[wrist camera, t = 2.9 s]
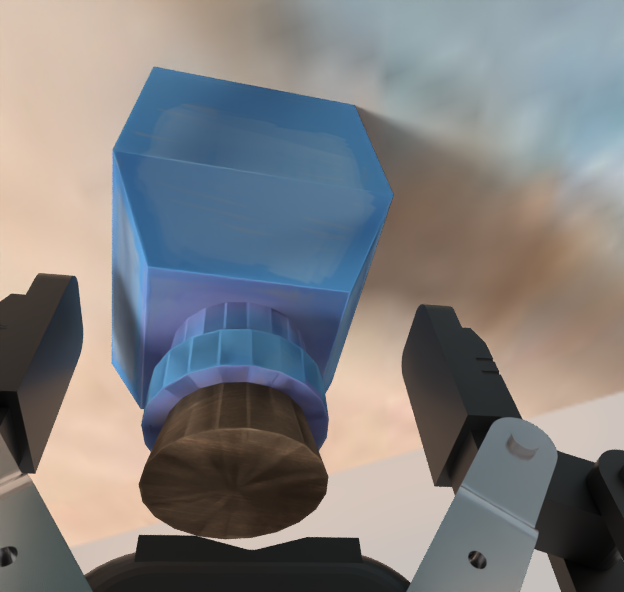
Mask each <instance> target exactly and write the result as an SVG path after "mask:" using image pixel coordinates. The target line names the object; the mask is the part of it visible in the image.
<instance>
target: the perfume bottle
mask: <svg viewBox="0 0 624 592" xmlns="http://www.w3.org/2000/svg"><path fill="white" fill-rule="evenodd" d="M392 198H393V193H392V190H391V188H390V186H389V183H388V181H387V179H386V176H385V174H384V172H383V170H382V167H381V165H380V163H379V160H378V158H377V156H376V154H375V151H374V149H373V147H372V144H371V142H370V140H369V137H368V135H367V133H366V131H365V128H364V126H363V124H362V121H361V119H360V117H359V114H358V112H357V110H356V108H355V105H351V104H346V103H340V102H335V101H330V100H325V99H320V98H314V97H309V96H304V95H299V94H293V93H288V92H283V91H278V90H273V89H267V88H262V87H257V86H252V85H247V84H241V83H236V82H231V81H226V80H220V79H215V78H210V77H205V76H200V75H194V74H189V73H184V72H179V71H174V70H168V69H163V68H158V67H153V69H152V71H151V73H150V75H149V77H148V79H147V81H146V83H145V85H144V87H143V89H142V91H141V93H140V96H139V98H138V100H137V102H136V104H135V106H134V108H133V110H132V112H131V114H130V116H129V118H128V120H127V122H126V124H125V126H124V128H123V130H122V132H121V134H120V136H119V138H118V140H117V142H116V144H115V146H114V148H113V199H112V364H113V366H114V367H115V369H116V371H117V372H118V374H119V375H120V377H121V378H122V380H123V382H124V383H125V385H126V386H127V388H128V390H129V391H130V393H131V394H132V396H133V397H134V399H135V401H136V402H137V404H138V405H139V407H140V409H144V414H143V419H142V424H141V426H142V431H143V436H144V441H145V445H146V446H147V447H148V449H149V450H150V451H151V453H150V456H149V458H148V460H147V462H146V464H145V467H144V470H143V473H142V476H141V479H140V482H139V488H140V492H141V497H142V502H143V503H144V504H145V505H146V506H147V508H148V509H149V510H150V511H151V513H152V514H153V515H154V516H155V517H156V518H158V519H159V520H161V521H163V522H164V523H166V524H168V525H169V526H171V527H173V528H174V529H177V530H180V531H184V532H187V533H190V534H193V535H196V536H202V537H211V538H218V539H238V538H253V537H257V536H261V535H266V534H270V533H275V532H278V531H280V530H283V529H285V528H287V527H289V526H292V525H294V524H296V523H298V522H300V521H301V520H303V519H304V518H305V517H306V516H308V515H309V514H310V513H312V512H313V511H314V510H316V508H317V507H318V505H319V504H320V502H321V501H322V499H323V498H324V496H325V495H326V491H327V483H328V474H327V472H326V469H325V467H324V464H323V461H322V459H321V456H320V454H319V450H320V448H321V446H322V445H323V443H324V441H325V440H326V438H327V430H328V421H329V418H328V411H327V403H326V396H325V393H326V392H327V390H328V388H329V386H330V384H331V383H332V380H333V377H334V373H335V370H336V367H337V364H338V361H339V358H340V355H341V352H342V349H343V346H344V343H345V340H346V337H347V334H348V331H349V328H350V325H351V322H352V319H353V316H354V313H355V310H356V307H357V304H358V301H359V298H360V295H361V292H362V289H363V286H364V283H365V280H366V277H367V274H368V271H369V268H370V265H371V262H372V259H373V256H374V253H375V250H376V247H377V244H378V241H379V238H380V235H381V232H382V229H383V226H384V223H385V219H386V216H387V213H388V210H389V207H390V204H391V201H392Z"/></svg>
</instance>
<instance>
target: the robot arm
mask: <svg viewBox="0 0 624 592" xmlns="http://www.w3.org/2000/svg"><path fill="white" fill-rule="evenodd" d="M82 343H83V323H82V315H81V306H80V297H79V288H78V282H77V278H76V277H75V276H69V275H56V274H44V273H39V274H38V275H37V276H36V278H35V279H34V281H33V283H32V285H31V286H30V288H29V290H28V292H27V293H26V295H22V294H10V295H9V296H8V297H6V298H5V299H3V300H2V301H1V302H0V592H520V590H521V587H522V584H523V581H524V578H525V575H526V572H527V569H528V566H529V563H530V560H531V557H532V554H533V551H534V549H536V550H539V551H542V552H545V553H547V554H548V557H549V560H550V562H551V565H552V568H553V571H554V573H555V576H556V579H557V582H558V584H559V587H560V590H561V592H624V562H623V561H624V451H623V450H609V451H606V452H604V453H603V454H602V455H601V456H600V457H599V459H598V460H597V462H596V463H594V462H591V461H588V460H585V459H581V458H578V457H575V456H572V455H569V454H565V453H562V452H560V451H557V450H556V447H555V445H554V443H553V442H552V440H551V439H550V438H549V437H548V435H547V434H546V433H545V432H544V431H542V430H541V429H540V428H538V427H537V426H535V425H534V424H532V423H530V422H528V421H525V420H523V419H522V417H521V415H520V413H519V411H518V409H517V407H516V405H515V403H514V401H513V399H512V397H511V395H510V393H509V391H508V388H507V386H506V384H505V382H504V380H503V378H502V376H501V375H499V370H498V368H497V366H496V364H495V362H493V358H492V356H491V354H490V351H489V349H488V347H487V345H486V343H485V342H484V341H483V340H482V339H481V338H480V337H479V336H478V335H477V334H476V333H475V332H474V331H473V330H472V329H471V328H462V327H461V324H460V322H459V320H458V318H457V316H456V313H455V311H454V309H453V308H452V307H450V306H437V305H424V304H421V305H420V306H419V307H418V309H417V311H416V314H415V317H414V320H413V323H412V326H411V329H410V332H409V335H408V338H407V341H406V344H405V347H404V350H403V355H402V374H403V378H404V382H405V385H406V389H407V392H408V396H409V399H410V403H411V406H412V410H413V413H414V417H415V420H416V423H417V427H418V430H419V434H420V437H421V441H422V444H423V448H424V451H425V455H426V458H427V462H428V465H429V468H430V472H431V476H432V479H433V482H434V486H439V487H452V488H453V491H454V494H455V497H454V499H453V501H452V503H451V505H450V507H449V509H448V511H447V513H446V515H445V517H444V519H443V521H442V523H441V525H440V527H439V529H438V531H437V533H436V535H435V537H434V539H433V541H432V543H431V544H430V546H429V549H428V550H427V552H426V554H425V556H424V558H423V560H422V562H421V564H420V566H419V568H418V570H417V572H416V574H415V576H414V578H413V580H412V582H411V583H410V582H409V581H408V580H407V579H405V578H404V577H403V576H402V575H400V574H399V573H398V572H396V571H395V570H393V569H392V568H390V567H388V566H387V565H385V564H383V563H381V562H379V561H376V560H374V559H372V558H369V557H366V556H362V555H361V549H360V544H359V538H331V537H329V538H328V537H327V538H326V537H306V538H302V539H298V540H294V541H290V542H286V543H282V544H277V545H274V546H269V547H266V548H261V549H257V550H247V549H243V548H240V547H235V546H232V545H228V544H225V543H221V542H217V541H213V540H210V539H206V538H202V537H198V536H180V535H139V537H138V543H137V548H136V553H132V554H128V555H124V556H122V557H119V558H116V559H113V560H111V561H109V562H107V563H105V564H103V565H101V566H99V567H97V568H95V569H94V570H92V571H90V572H89V573H87V574H85V575H83V573H82V571H81V569H80V567H79V565H78V564H77V562H76V560H75V558H74V556H73V554H72V553H71V551H70V549H69V547H68V545H67V543H66V541H65V540H64V538H63V536H62V534H61V532H60V530H59V529H58V527H57V525H56V523H55V521H54V519H53V518H52V516H51V514H50V512H49V510H48V508H47V507H46V505H45V503H44V501H43V499H42V497H41V496H40V494H39V492H38V490H37V488H36V486H35V485H34V483H33V481H32V479H31V478H30V476H29V475H28V474H27V473H33V474H35V473H36V470H37V468H38V465H39V462H40V460H41V457H42V454H43V452H44V449H45V446H46V444H47V441H48V438H49V436H50V433H51V431H52V428H53V425H54V423H55V420H56V417H57V415H58V412H59V409H60V407H61V404H62V401H63V399H64V396H65V394H66V391H67V388H68V386H69V383H70V380H71V378H72V375H73V372H74V370H75V367H76V364H77V362H78V359H79V356H80V353H81V349H82ZM621 557H622V558H621ZM622 559H623V560H622Z"/></svg>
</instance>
